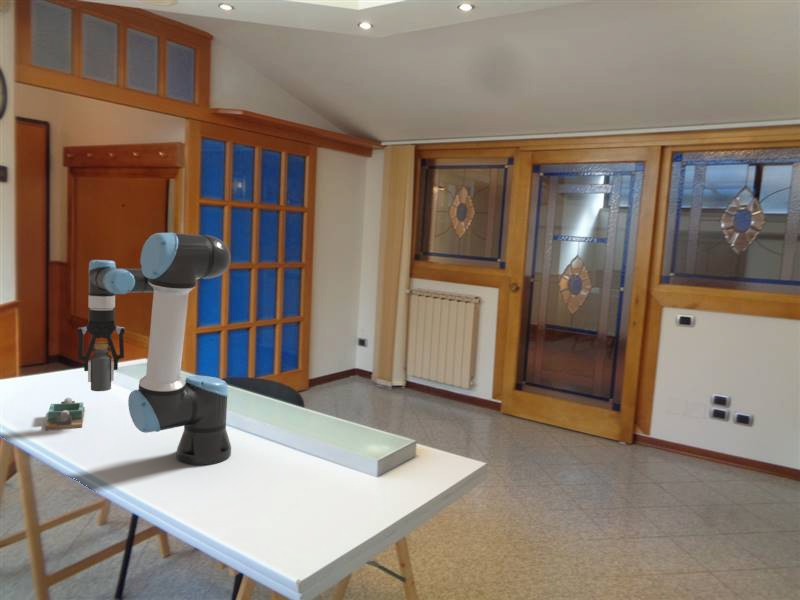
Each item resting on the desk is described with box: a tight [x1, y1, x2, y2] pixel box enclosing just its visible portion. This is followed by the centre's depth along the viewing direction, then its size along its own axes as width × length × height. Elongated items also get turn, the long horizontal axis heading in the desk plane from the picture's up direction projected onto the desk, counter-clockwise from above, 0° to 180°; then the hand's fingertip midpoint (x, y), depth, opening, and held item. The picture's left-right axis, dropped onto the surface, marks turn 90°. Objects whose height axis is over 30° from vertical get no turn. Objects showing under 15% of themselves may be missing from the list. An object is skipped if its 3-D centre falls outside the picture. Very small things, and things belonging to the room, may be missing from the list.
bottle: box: [90, 341, 112, 392], centre depth 187 cm, size 6×6×15 cm
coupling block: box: [44, 397, 86, 431], centre depth 192 cm, size 19×10×5 cm, turn 26°
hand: (101, 380), depth 187 cm, fingers closed on bottle, 6 cm apart
